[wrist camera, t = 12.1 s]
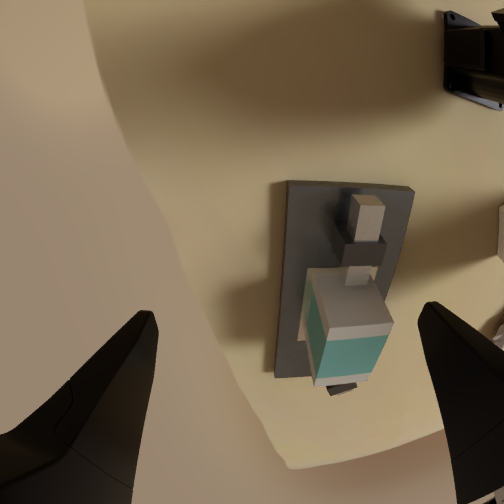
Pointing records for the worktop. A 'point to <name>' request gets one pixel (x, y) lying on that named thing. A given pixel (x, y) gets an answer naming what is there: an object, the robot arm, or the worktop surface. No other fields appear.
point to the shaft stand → (334, 253)
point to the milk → (501, 234)
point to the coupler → (345, 330)
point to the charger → (499, 337)
